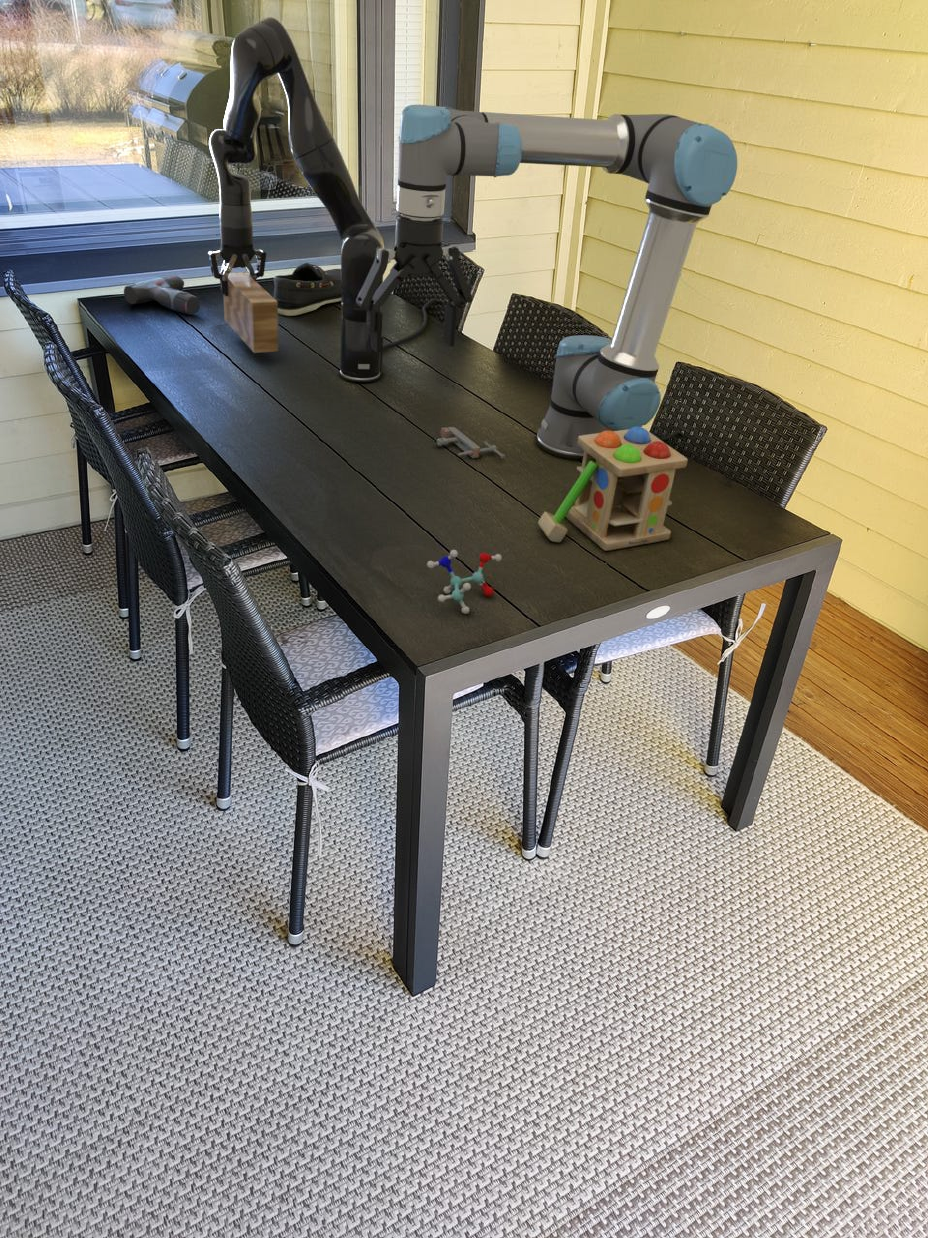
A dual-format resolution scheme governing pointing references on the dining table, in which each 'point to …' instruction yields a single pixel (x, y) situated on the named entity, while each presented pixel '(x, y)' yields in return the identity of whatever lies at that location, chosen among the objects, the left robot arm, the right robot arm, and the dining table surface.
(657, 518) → the pounding bench toy
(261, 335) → the box
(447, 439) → the clamp
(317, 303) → the boat shoe
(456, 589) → the molecular model
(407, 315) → the dining table surface
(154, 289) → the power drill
